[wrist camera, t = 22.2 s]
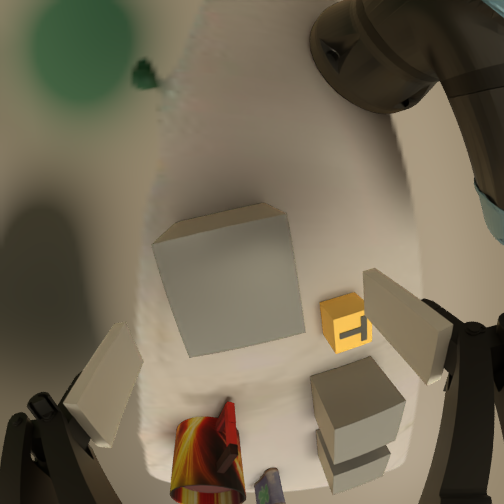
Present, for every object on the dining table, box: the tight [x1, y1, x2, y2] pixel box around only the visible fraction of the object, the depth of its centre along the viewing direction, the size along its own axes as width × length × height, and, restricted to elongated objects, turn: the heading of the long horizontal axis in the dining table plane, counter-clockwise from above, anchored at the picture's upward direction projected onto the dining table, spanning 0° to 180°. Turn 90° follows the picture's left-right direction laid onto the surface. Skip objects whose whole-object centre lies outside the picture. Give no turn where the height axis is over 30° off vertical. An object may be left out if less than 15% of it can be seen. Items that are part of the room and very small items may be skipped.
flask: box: [254, 468, 285, 504], centre depth 35 cm, size 9×3×11 cm, turn 161°
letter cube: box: [320, 292, 372, 354], centre depth 29 cm, size 4×4×5 cm
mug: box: [170, 401, 246, 504], centre depth 29 cm, size 10×14×12 cm
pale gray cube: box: [310, 356, 406, 465], centre depth 30 cm, size 9×9×10 cm
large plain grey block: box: [316, 429, 391, 495], centre depth 33 cm, size 9×9×10 cm
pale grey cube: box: [151, 203, 305, 358], centre depth 23 cm, size 9×9×10 cm
